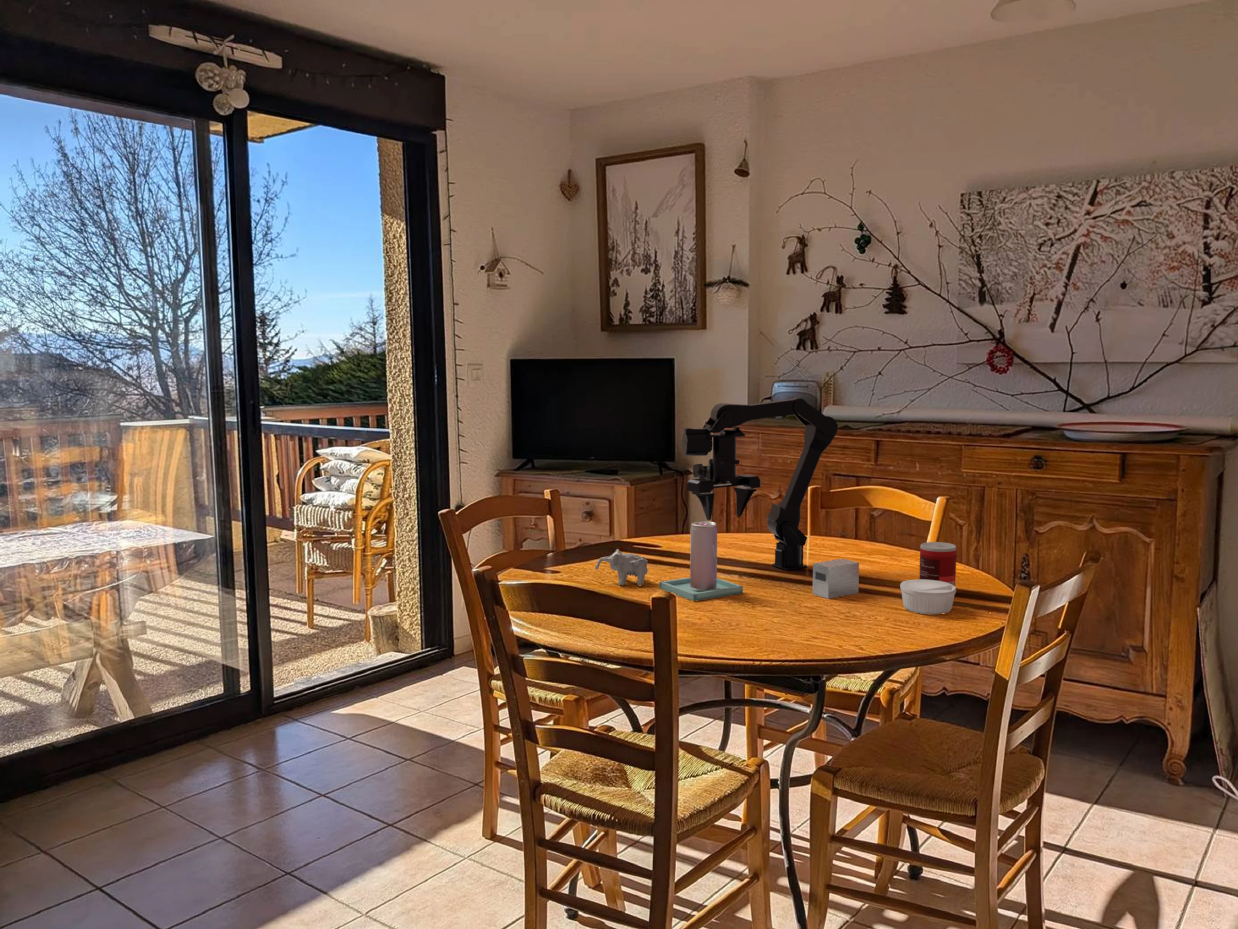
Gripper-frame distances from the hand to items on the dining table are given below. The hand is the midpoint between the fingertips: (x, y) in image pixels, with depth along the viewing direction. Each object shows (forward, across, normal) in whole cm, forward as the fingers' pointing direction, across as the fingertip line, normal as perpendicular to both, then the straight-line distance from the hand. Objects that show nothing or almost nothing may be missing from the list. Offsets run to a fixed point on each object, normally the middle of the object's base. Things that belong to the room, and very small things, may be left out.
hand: (723, 518), depth 243 cm
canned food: (+13, -26, +44) cm, 53 cm away
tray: (+13, +17, +14) cm, 26 cm away
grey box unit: (+13, -7, +32) cm, 35 cm away
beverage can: (+13, +17, +15) cm, 26 cm away
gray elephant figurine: (+13, +28, -2) cm, 31 cm away
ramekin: (+13, -14, +52) cm, 55 cm away
